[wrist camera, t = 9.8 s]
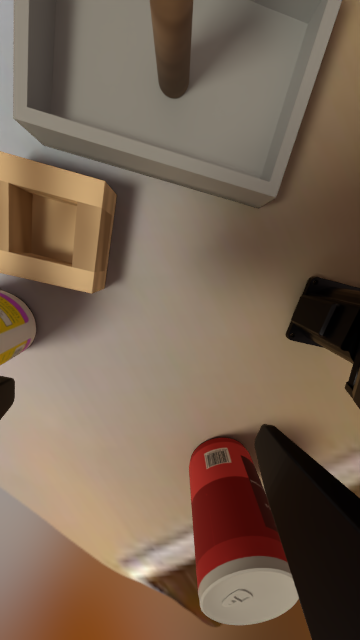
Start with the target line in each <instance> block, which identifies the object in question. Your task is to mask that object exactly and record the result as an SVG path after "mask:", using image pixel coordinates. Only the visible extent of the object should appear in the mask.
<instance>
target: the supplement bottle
mask: <svg viewBox="0 0 360 640" xmlns="http://www.w3.org/2000/svg"><path fill="white" fill-rule="evenodd" d="M35 334H36V323H35V319H34V316H33V314H32V312H31V311H30V309H29V308H28V307H27V305H26V304H25V303H24V302H23V301H21V300H20V299H19V298H17V297H16V296H14V295H12V294H10V293H8V292H5V291H2V290H0V365H2V364H3V363H5V362H7V361H8V360H10V359H12V358H13V357H15V356H16V355H18V354H20V353H21V352H23V351H24V350H25V349H27V348H28V347H29V346H30V345H31V343H32V342H33V340H34V338H35Z"/></svg>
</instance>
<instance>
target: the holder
mask: <svg viewBox="0 0 360 640" xmlns="http://www.w3.org/2000/svg"><path fill="white" fill-rule="evenodd" d="M116 198H117V195H116V194H115V192H114V191H113V190H112V189H111V188H110V187H109V185H108V184H107V183H106V182H105V181H103V180H99V179H96V178H92V177H89V176H85V175H82V174H78V173H75V172H71V171H67V170H64V169H60V168H57V167H53V166H50V165H46V164H43V163H39V162H36V161H32V160H29V159H25V158H22V157H18V156H15V155H11V154H8V153H4V152H1V151H0V273H3V274H8V275H12V276H17V277H21V278H25V279H30V280H34V281H39V282H43V283H47V284H52V285H56V286H61V287H65V288H70V289H74V290H78V291H83V292H87V293H94V292H97V291H100V290H102V289H104V288H105V280H106V273H107V266H108V258H109V251H110V243H111V236H112V228H113V221H114V213H115V206H116Z"/></svg>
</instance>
